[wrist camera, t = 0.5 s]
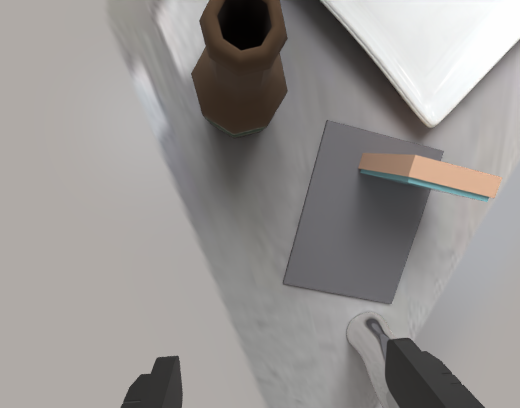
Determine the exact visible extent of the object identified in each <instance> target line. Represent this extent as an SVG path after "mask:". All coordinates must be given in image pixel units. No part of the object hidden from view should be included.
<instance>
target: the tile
mask: <svg viewBox="0 0 520 408" xmlns="http://www.w3.org/2000/svg"><path fill="white" fill-rule="evenodd" d="M358 168H359V169H361V172H360V173H363V174H367V175H371V176H375V177H379V178H383V179H387V180H391V181H395V182H399V183H403V184H407V185H411V186H416V187H420V188H424V189H429V190H434V191H438V192H443V193H448V194H452V195H457V196H462V197H467V198H471V199H476V200H481V201H485V202H487V201H488V198H489V197H491V198H495V196H496V193H497V190H498V188H499V185H500V183H501V180H502V177H499V176H495V175H491V174H487V173H483V172H479V171H476V170H472V169H468V168H464V167H460V166H456V165H453V164H449V163H445V162H441V161H437V160H433V159H430V158H426V157H422V156H418V155H407V154H379V153H363V154H362V157H361V161H360V164H359V167H358Z"/></svg>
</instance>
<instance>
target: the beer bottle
mask: <svg viewBox="0 0 520 408" xmlns="http://www.w3.org/2000/svg"><path fill="white" fill-rule="evenodd" d="M199 22H200V25H201V29H202V33H203V37H204V41H205V45H206V47H205V49H204V51H203V53H202V55H201V57H200V58H199V60H198V62H197V64H196V66H195V68H194V69H193V71H192V73H191V75H192V78H193V82H194V85H195V89H196V93H197V96H198V100H199V104H200V107H201V111H202V114H203V116H204V117H205V118H206V119H207V120H208V121H209V122H210V123H211V124H212V125H213V126H215V127H217V128H218V129H220V130H222V131H223V132H225V133H226V134H228V135H230V136H231V137H233V138H237V137H241V136H245V135H249V134H253V133H257V132H260V131H261V130H263V129H264V128H265V127H267V126H268V124H269V122H270V121H271V119H272V117H273V116H274V114H275V112H276V111H277V109H278V107H279V105H280V104H281V102H282V100H283V99H284V97H285V95H286V93H287V86H286V81H285V77H284V72H283V67H282V62H281V58H280V51H281V49H282V47H283V46H284V44H285V42H286V40H287V39H288V38H287V34H286V29H285V24H284V19H283V14H282V9H281V4H280V0H209V2H208V4H207V6H206V8H205V10H204V12H203V14H202V16H201V18H200V21H199Z"/></svg>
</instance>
